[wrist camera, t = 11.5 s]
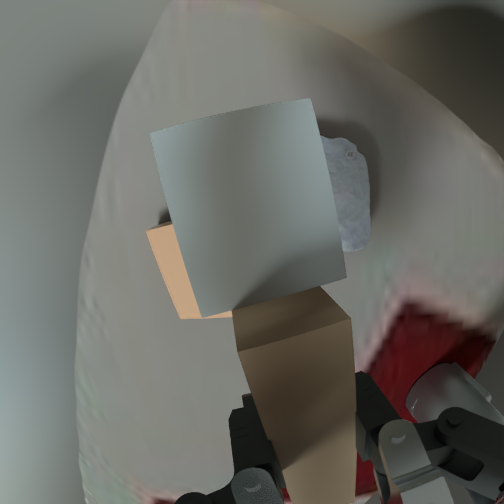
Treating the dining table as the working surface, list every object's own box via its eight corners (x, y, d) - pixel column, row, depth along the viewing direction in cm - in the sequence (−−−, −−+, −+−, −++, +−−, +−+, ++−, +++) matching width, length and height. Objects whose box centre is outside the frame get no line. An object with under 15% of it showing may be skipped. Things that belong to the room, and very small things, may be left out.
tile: (251, 304, 24) (221, 208, 21) (243, 316, 22) (210, 215, 20) (190, 308, 26) (158, 224, 24) (180, 318, 24) (145, 231, 22)
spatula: (301, 105, 9) (342, 73, 6) (350, 452, 14) (371, 494, 10) (156, 137, 9) (125, 116, 5) (269, 477, 13) (280, 523, 10)
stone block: (216, 149, 24) (232, 264, 25) (218, 131, 20) (237, 272, 20) (342, 141, 26) (357, 244, 27) (366, 126, 21) (385, 247, 22)
